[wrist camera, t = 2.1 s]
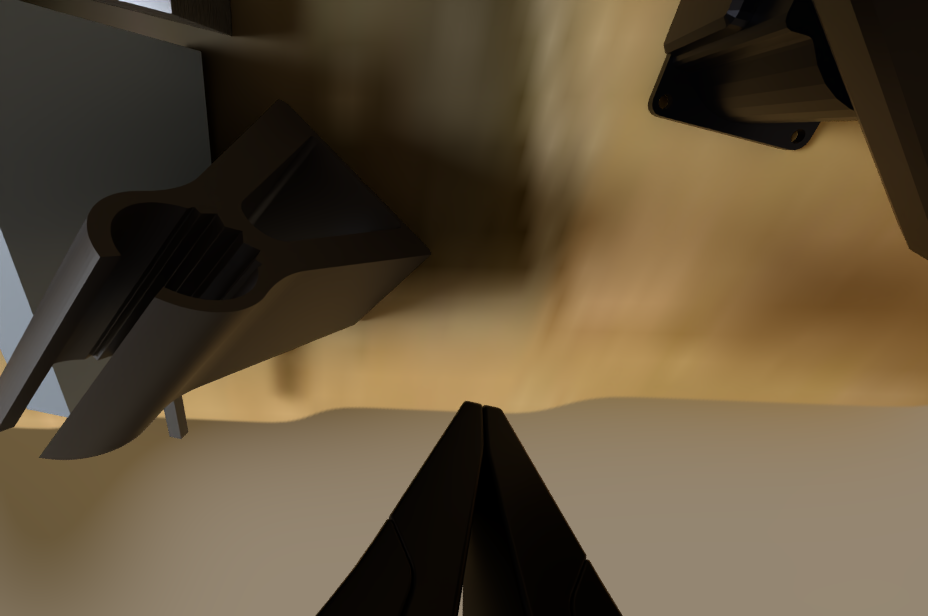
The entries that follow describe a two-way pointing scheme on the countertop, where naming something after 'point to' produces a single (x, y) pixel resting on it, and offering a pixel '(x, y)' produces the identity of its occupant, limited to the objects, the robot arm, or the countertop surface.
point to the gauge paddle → (83, 156)
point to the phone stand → (208, 281)
